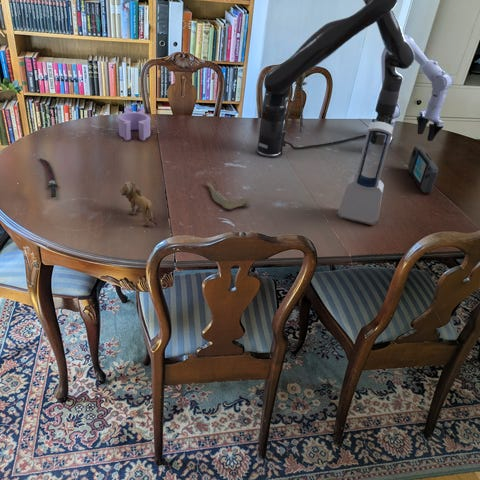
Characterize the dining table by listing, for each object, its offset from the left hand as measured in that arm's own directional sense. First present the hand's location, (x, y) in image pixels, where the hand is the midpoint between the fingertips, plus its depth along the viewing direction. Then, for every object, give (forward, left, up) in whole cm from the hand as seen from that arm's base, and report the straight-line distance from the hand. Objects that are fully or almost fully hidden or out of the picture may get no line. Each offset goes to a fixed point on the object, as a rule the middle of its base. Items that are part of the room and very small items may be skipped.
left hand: (376, 141), depth 194 cm
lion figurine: (+109, +8, -6) cm, 109 cm away
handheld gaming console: (+5, +27, -6) cm, 28 cm away
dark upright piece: (+14, -37, -6) cm, 40 cm away
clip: (+83, -56, -6) cm, 100 cm away
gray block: (0, 0, -1) cm, 1 cm away
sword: (+125, -27, -6) cm, 128 cm away
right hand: (-20, +8, +2) cm, 22 cm away
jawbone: (+78, +8, -6) cm, 78 cm away
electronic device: (+48, +37, -6) cm, 61 cm away
